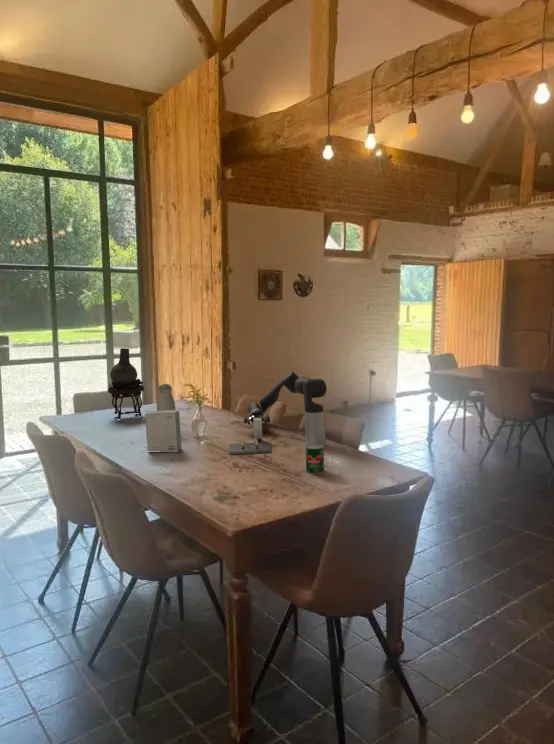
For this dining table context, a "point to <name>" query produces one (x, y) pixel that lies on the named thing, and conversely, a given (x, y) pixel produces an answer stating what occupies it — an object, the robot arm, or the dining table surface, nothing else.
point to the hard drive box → (163, 431)
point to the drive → (258, 429)
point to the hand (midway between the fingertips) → (257, 422)
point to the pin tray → (249, 448)
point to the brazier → (125, 383)
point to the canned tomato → (314, 458)
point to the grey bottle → (165, 398)
